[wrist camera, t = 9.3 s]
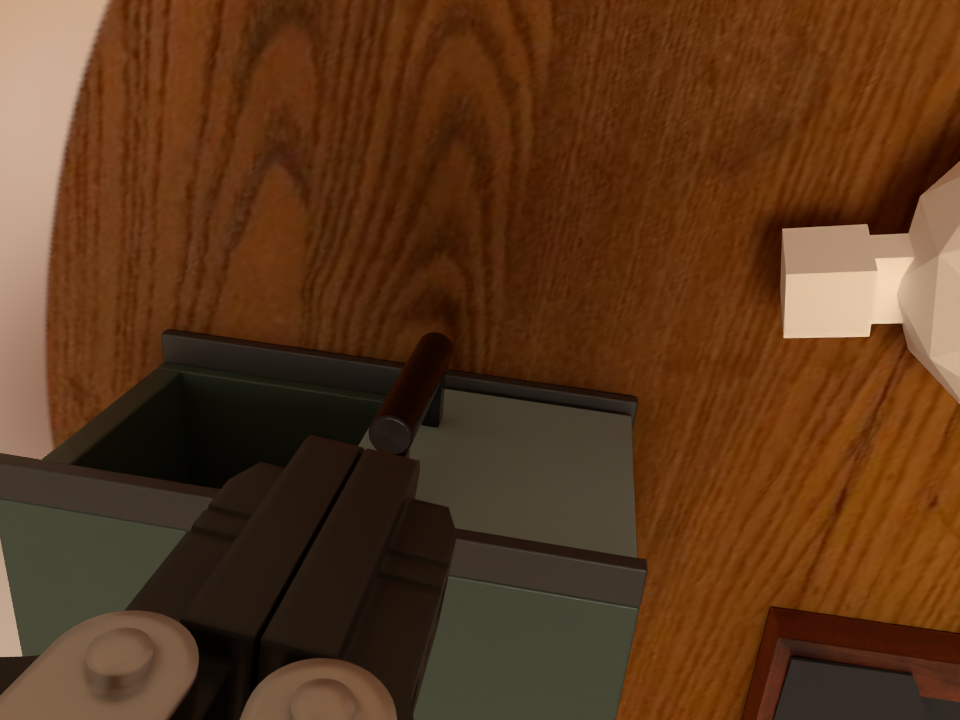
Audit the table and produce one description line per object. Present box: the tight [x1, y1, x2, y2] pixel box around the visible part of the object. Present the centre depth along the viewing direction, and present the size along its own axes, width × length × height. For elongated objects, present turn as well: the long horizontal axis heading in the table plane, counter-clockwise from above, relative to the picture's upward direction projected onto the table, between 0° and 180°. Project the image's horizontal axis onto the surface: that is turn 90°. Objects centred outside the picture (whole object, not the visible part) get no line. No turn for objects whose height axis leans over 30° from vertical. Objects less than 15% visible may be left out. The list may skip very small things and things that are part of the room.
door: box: [359, 332, 637, 558], centre depth 25 cm, size 4×9×8 cm, turn 85°
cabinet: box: [0, 330, 648, 720], centre depth 28 cm, size 13×18×10 cm
